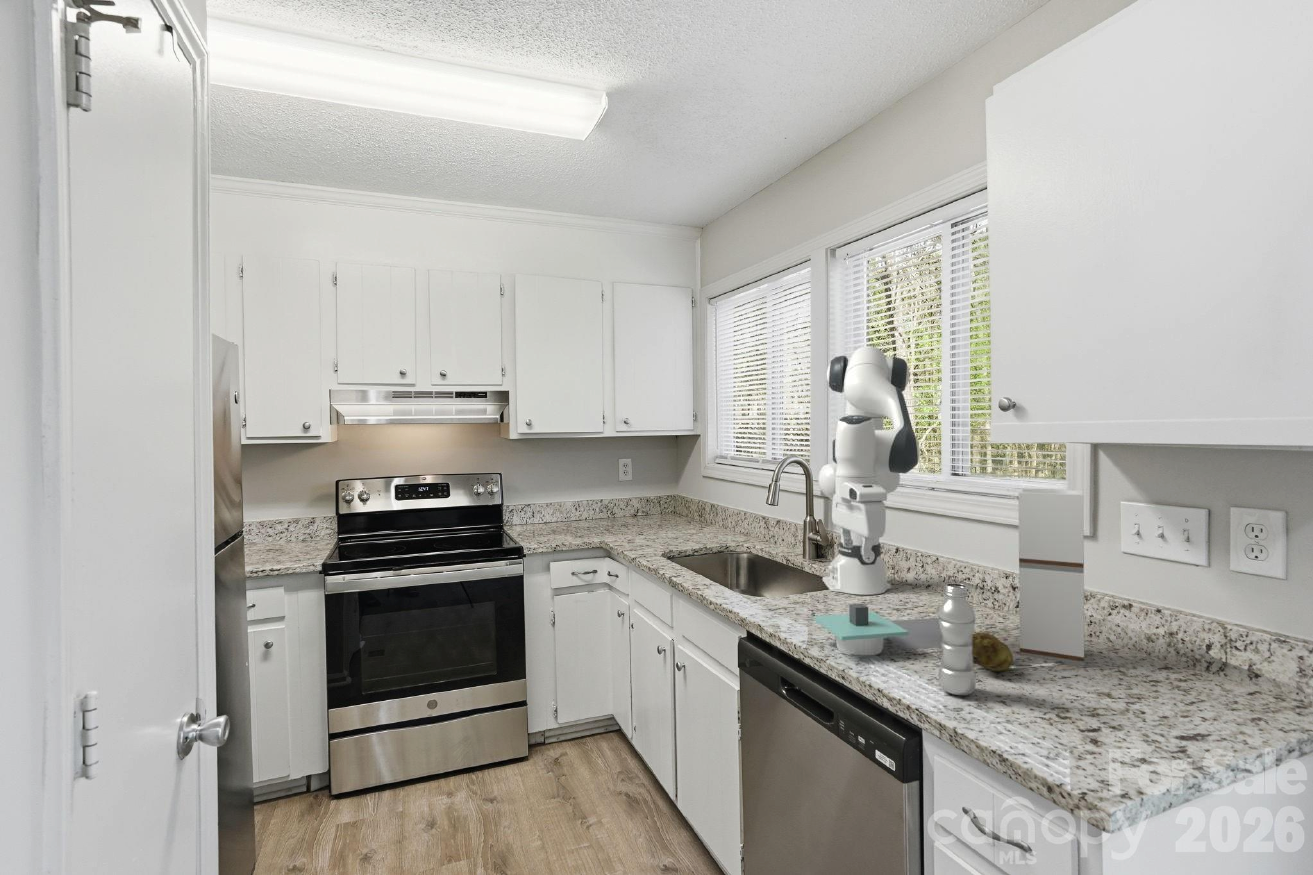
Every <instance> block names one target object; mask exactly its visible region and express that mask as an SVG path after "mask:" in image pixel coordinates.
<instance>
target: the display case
mask: <svg viewBox="0 0 1313 875" xmlns="http://www.w3.org/2000/svg"><path fill="white" fill-rule="evenodd" d="M1017 495H1018V496H1017V497H1018V584H1019V585H1018V586H1019V589H1018V594H1019V595H1018V596H1019V606H1018V607H1019V655H1021V656H1025V657H1026V656H1027V657H1032V658H1039V659H1046V660H1052V661H1054V662H1052V663H1053V664H1061V665H1066V666H1071V667H1072V666H1073V667H1079V668H1085V648H1086V647H1085V562H1084V561H1085V553H1084V552H1085V551H1084V550H1085V546H1084V545H1085V543H1084V542H1085V540H1084V539H1085V538H1084V536H1085V535H1084V534H1085V532H1084V524H1085V522H1084V489H1058V488H1057V489H1053V488H1025V487H1023V488H1022V492H1018V494H1017ZM1055 661H1056V662H1055Z"/></svg>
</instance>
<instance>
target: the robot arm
mask: <svg viewBox="0 0 1313 875" xmlns="http://www.w3.org/2000/svg"><path fill="white" fill-rule="evenodd" d="M909 368H910V367H909V366H908V363H907V361H906V360H905V359H903V358H902V357H897V356H893V357H889V356H886V355H885V353H884V351H883V350H882V349H879V348H878V347H875V346H872V345H864V346H862V347H859V348H858V349H856V350H855V351H854V352H853V353H852V355H848V356H846V355H839V356H835V357H833V358H832V359H831V360H830V363H829V365H828V367H827V370H826V380H827V383H828V387H829V388H830V389H831V391H833V392H836V393H840V394H843V393H844V396H845V399H846V404H845V412H844V416H842V417H841V418H838V421H837V425H836V432H835V438H834V440H832V461H833V462H831V463H828V464H825V465H823V466H822V467H821V468H820V470H819V472H818V476H817V482H818V487H819V489H820V490H821V492H822V493H823V494H824V495H825V496H826V497H828V498H829V499H830V500H831V501H832V505H831V506H832V507H831V521H832V523H833V525H835V526H838V527H839V528H840V529H839V531H840V542H838V543H839V544H838V552H837V553H838V554H837V556H835V558H833V560H832V561H831V562H830V564H829V565H827V570H826V571H827V574H829V575H826V576H823V577H822V582H824V584H825V586H826V587H827V588H828V589H829V590H830V591H831V592H837V593H844V594H845V593H846V594H851V595H863V596H864V595H866V596H867V595H879V594H882V593H885V592H886V591H887V590H889V589H891V588H892V587H891V586H892V585H891V583H888V581H887V570H886V562H885V560H884V559H882V557H881V555H882V544H881V542H880V538H883V537H884V536H885V532H886V519H887V517H886V516H887V514H886V513H887V512H886V509H887V508H886V504H885V501H887V500H888V494H890V493H893V492H895V491H896V490H897V489H898V487H899V485H900V482H901V474H903V475H905V474H907V473H909V472H911V470H913V469H914V468H916V467H917V465H919V464H918V462H919V461H920V453H921V452H920V450H921V449H920V445H919V442H918V439H917V437H916V433H915V431H914V429H913V426H912V421H911V417H910V414H909V413H910V412H909V410H908V406H907V402H906V400H905V396H904V394H903V392H904V391H905V390H906V388H907V386H908V385H909V382H910V377H911V375H910V374H911V373H910V369H909ZM885 417H887V418H889V419H890V421H891V425H892V428H891V429H884V422H885Z"/></svg>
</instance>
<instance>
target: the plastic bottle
mask: <svg viewBox="0 0 1313 875" xmlns="http://www.w3.org/2000/svg"><path fill="white" fill-rule="evenodd" d="M967 588H968V587H967V585H966V584H963V583H957V582H956V583H955V582H950V583H946V584H945V591H944V595H945V596H946V598H945V599H944V600H943V601H942V603H941V604H940V606H938V607H939V608H938V611H937V616H938V617H937V618H939V624H940V631H941V641H942V643H941V644H942V647H941V651H940V652H941V654H940V664H939V669H938V675H937V676H938V681H939V685H940V687H941V689H942V690H943V691H944V692H945V693H948V694H952V695H956V696H970V695H972V694H973V692H974V691H975V690H976V687H977V675H976V670H975V666H974V665H975V664H974V663H973V653H972V644H973V634H974V632H975V622H976V614H975V611H974V608H973V607H972V605H971V603H969V601H968V600H967V597H968V589H967Z"/></svg>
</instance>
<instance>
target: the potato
mask: <svg viewBox="0 0 1313 875" xmlns="http://www.w3.org/2000/svg"><path fill="white" fill-rule="evenodd" d="M972 653H973V664H974V665H976V664H977V665H978V666H980V667H982V668H983V669H987V670H988V669H989V670H991V671H993V672H1005V671H1007V670H1009V669H1010V668H1011V666H1012V663H1013V661H1014V657H1013V654H1012V651H1011V649H1010V648H1009V646H1008V645H1007V644H1005V643H1004V642H1002V641H1001V640H1000V639H998V638H997V637H996V636H994V635H993V634H990V633H988V632H980V631H979V632H976V633H973V644H972Z"/></svg>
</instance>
